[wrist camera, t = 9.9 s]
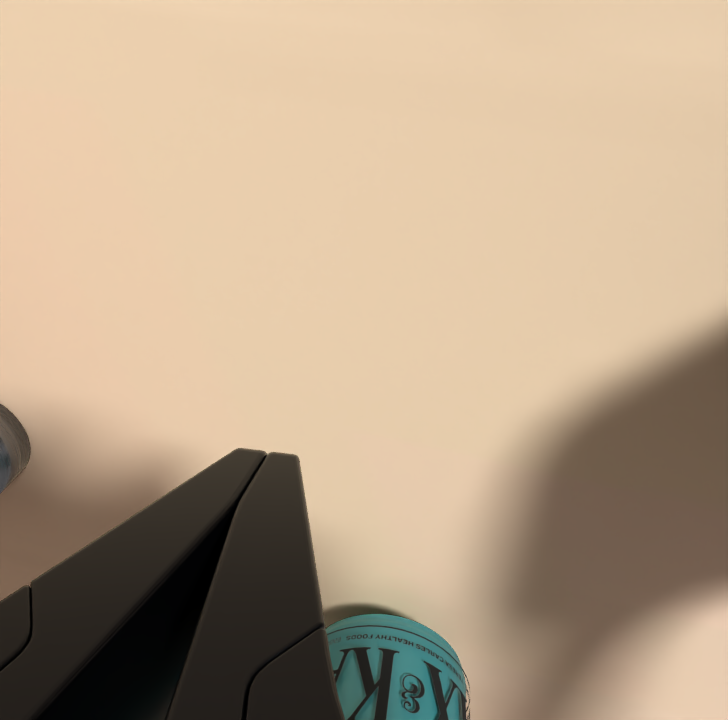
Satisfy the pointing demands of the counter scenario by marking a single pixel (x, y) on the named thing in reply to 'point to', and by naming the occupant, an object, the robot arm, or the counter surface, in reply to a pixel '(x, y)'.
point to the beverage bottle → (395, 670)
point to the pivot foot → (12, 447)
